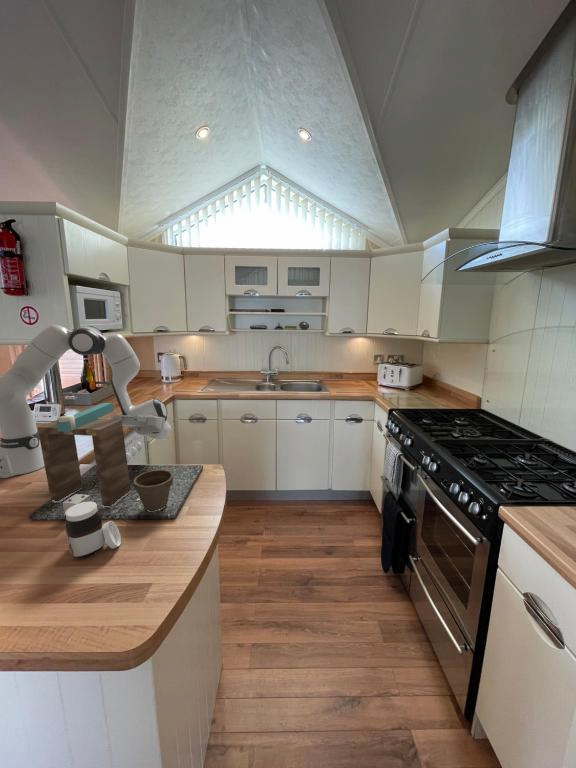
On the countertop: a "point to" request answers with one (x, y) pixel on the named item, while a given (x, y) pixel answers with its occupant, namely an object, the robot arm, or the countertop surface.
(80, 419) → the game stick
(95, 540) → the spread jar
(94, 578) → the countertop surface
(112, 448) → the walnut shelf
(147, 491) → the flower pot
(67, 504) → the ivory die
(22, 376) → the robot arm
